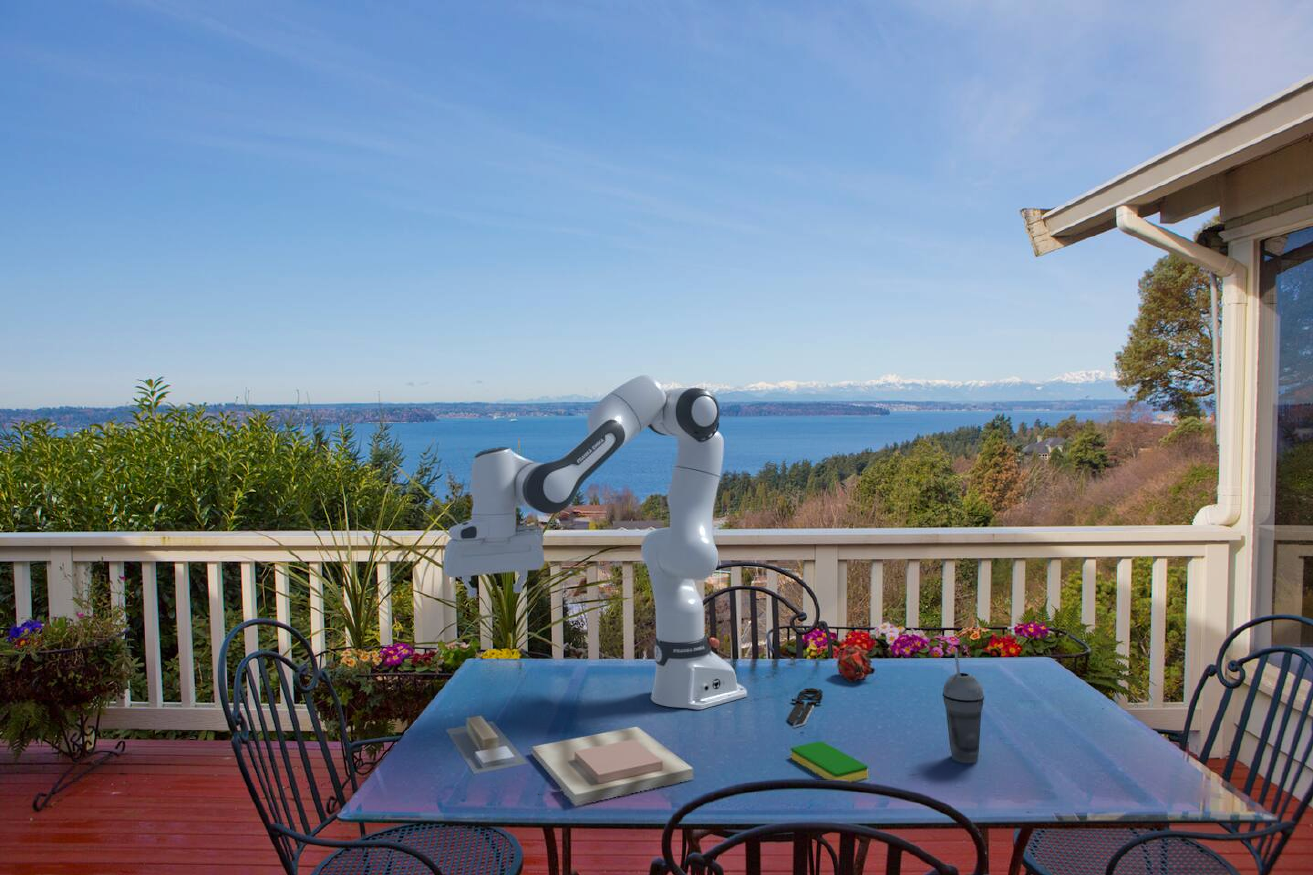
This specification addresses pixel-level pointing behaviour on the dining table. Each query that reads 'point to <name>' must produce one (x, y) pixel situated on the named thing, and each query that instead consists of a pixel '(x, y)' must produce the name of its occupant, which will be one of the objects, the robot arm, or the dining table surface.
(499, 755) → the turner
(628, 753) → the tile
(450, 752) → the dining table surface
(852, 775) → the dish sponge
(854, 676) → the dragon fruit
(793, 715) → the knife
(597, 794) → the board
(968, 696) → the beverage cup
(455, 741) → the mat
